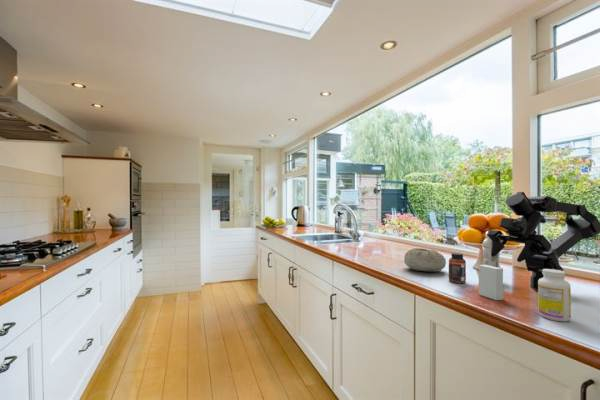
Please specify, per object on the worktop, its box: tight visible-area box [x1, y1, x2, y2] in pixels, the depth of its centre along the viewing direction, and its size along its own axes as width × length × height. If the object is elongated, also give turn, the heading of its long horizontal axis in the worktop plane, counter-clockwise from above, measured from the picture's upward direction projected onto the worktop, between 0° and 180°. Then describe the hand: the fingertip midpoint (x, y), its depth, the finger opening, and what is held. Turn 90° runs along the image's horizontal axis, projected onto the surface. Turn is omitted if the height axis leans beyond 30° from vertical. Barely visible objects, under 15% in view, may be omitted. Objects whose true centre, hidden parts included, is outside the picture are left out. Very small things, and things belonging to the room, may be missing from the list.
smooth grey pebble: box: [403, 247, 447, 272], centre depth 131 cm, size 18×18×10 cm
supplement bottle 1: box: [448, 252, 467, 284], centre depth 112 cm, size 6×6×11 cm
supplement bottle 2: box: [537, 269, 572, 322], centre depth 77 cm, size 7×7×13 cm
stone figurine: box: [481, 230, 501, 268], centre depth 113 cm, size 6×7×20 cm
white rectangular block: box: [478, 264, 504, 301], centre depth 93 cm, size 3×6×10 cm, turn 18°
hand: (504, 258), depth 97 cm, fingers open, 9 cm apart
